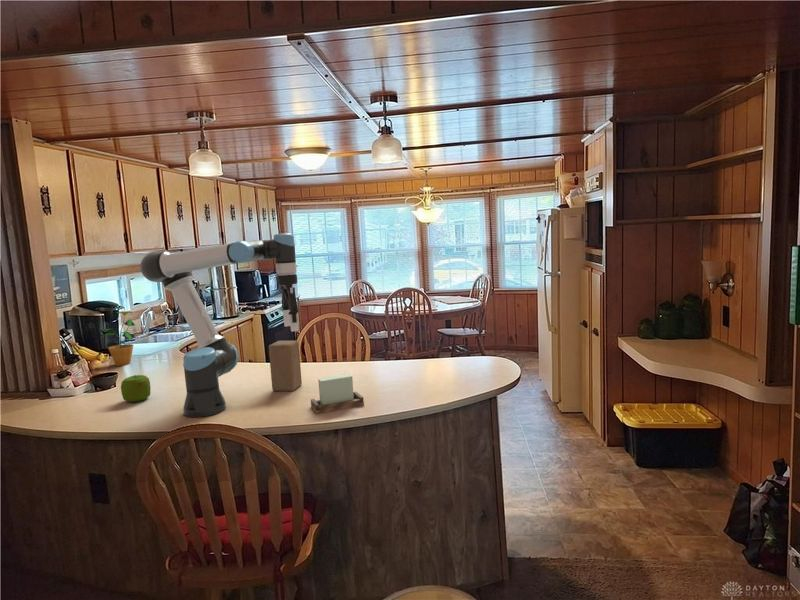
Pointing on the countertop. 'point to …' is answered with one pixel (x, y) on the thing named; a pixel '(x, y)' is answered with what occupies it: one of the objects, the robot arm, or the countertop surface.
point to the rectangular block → (336, 389)
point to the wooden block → (285, 365)
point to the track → (337, 404)
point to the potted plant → (121, 352)
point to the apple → (135, 388)
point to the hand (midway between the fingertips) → (291, 328)
